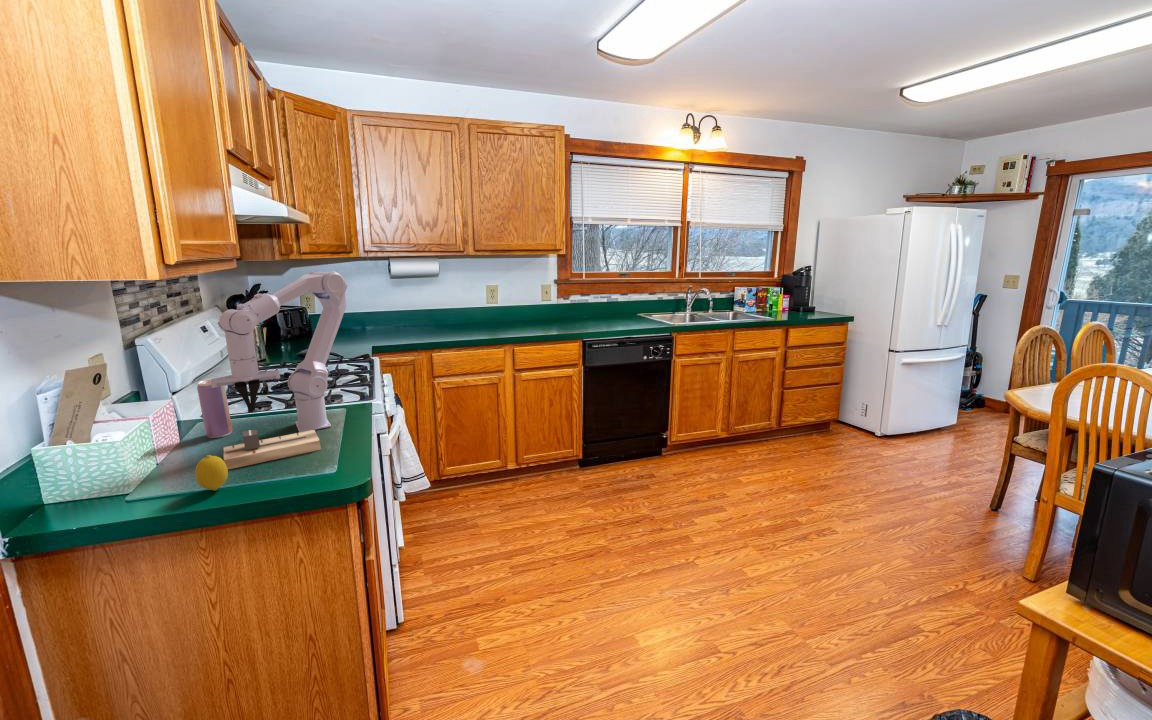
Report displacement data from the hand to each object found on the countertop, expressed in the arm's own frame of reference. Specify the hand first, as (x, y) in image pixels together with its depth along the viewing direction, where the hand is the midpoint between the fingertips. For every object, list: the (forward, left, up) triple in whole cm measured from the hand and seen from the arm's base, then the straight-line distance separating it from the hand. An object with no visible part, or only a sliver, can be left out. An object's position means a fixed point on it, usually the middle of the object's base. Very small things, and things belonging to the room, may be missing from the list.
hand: (251, 409), depth 131 cm
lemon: (+24, -9, -10) cm, 27 cm away
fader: (+9, -1, -7) cm, 11 cm away
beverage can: (-14, -8, -10) cm, 19 cm away
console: (+9, +3, -9) cm, 13 cm away
